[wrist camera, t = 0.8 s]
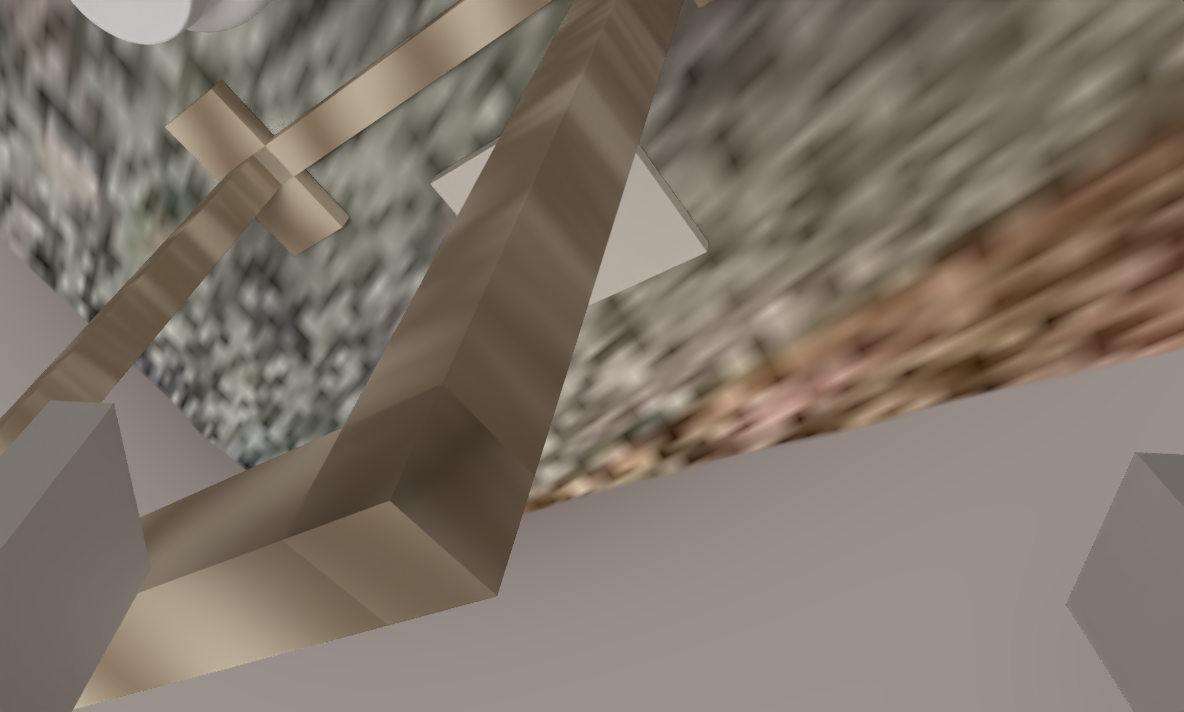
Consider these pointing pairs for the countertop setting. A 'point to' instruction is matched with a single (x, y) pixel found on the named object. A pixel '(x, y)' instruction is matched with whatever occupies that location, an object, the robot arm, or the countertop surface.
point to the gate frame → (406, 368)
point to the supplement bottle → (166, 17)
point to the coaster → (640, 231)
